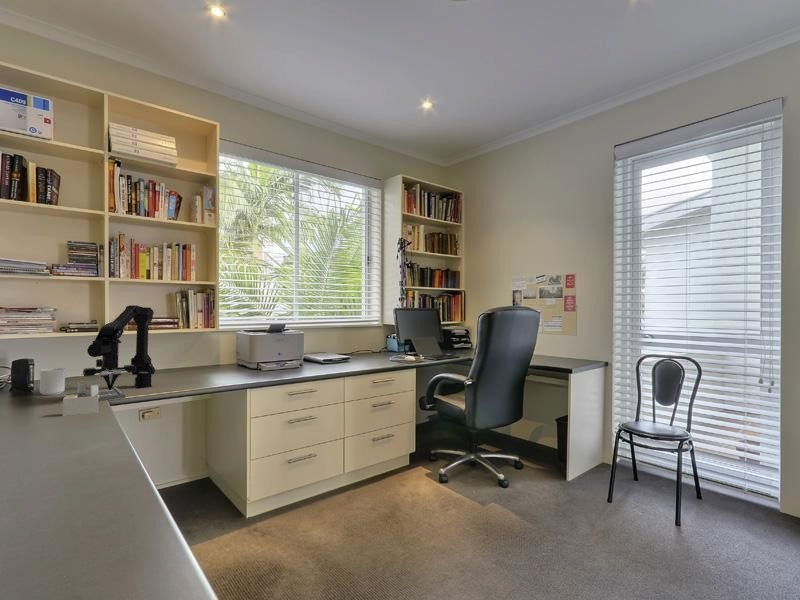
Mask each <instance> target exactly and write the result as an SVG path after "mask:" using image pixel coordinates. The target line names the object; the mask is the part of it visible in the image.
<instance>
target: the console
mask: <svg viewBox="0 0 800 600" xmlns="http://www.w3.org/2000/svg"><path fill="white" fill-rule="evenodd" d="M98 393H100V394H99V395H98V396H99V400H98V402H102V401H101V400H103V401H108V400H107V399H111V400H115V399H116V400H117V399H125V398H126V394H125V393H124V392H123V391H122V390H121V389H119V387H114V386H113V388H112V389H111V390H109V389H108V388H105V389H98ZM67 395H77V397H76V398H80V397H93V396H91V395H90V390H88V391H87V390H86V393H80V394H79V393H78V391H77V392H72V391H69V392H68V393H65V396H67Z"/></svg>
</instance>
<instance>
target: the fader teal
mask: <svg viewBox="0 0 800 600" xmlns="http://www.w3.org/2000/svg"><path fill="white" fill-rule="evenodd" d="M89 389H90V390H89V391H90V395H91V396H95V395H96V394H98V390H99V383H97V382H96V383H90V388H89Z"/></svg>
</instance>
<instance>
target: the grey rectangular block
mask: <svg viewBox="0 0 800 600" xmlns="http://www.w3.org/2000/svg"><path fill="white" fill-rule="evenodd" d="M86 383H87V382H86V381H85V380H82V381H77V392H78V393H79V394H80V393H86V391H87V390H86V388H87V387H86V385H87V384H86Z"/></svg>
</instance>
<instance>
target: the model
mask: <svg viewBox="0 0 800 600" xmlns="http://www.w3.org/2000/svg"><path fill="white" fill-rule="evenodd" d="M99 394H100V393H98V394H96V395H95V396H93V397H80V398H76V397H77V395H67V396H66V395H65V396H64V398H63V399H62V417H67V416H66V415H70V416H80V415H79V414H81V415H90V414H91V413H92V414H98V413H99V401H98V400H99V396H98V395H99Z"/></svg>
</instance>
